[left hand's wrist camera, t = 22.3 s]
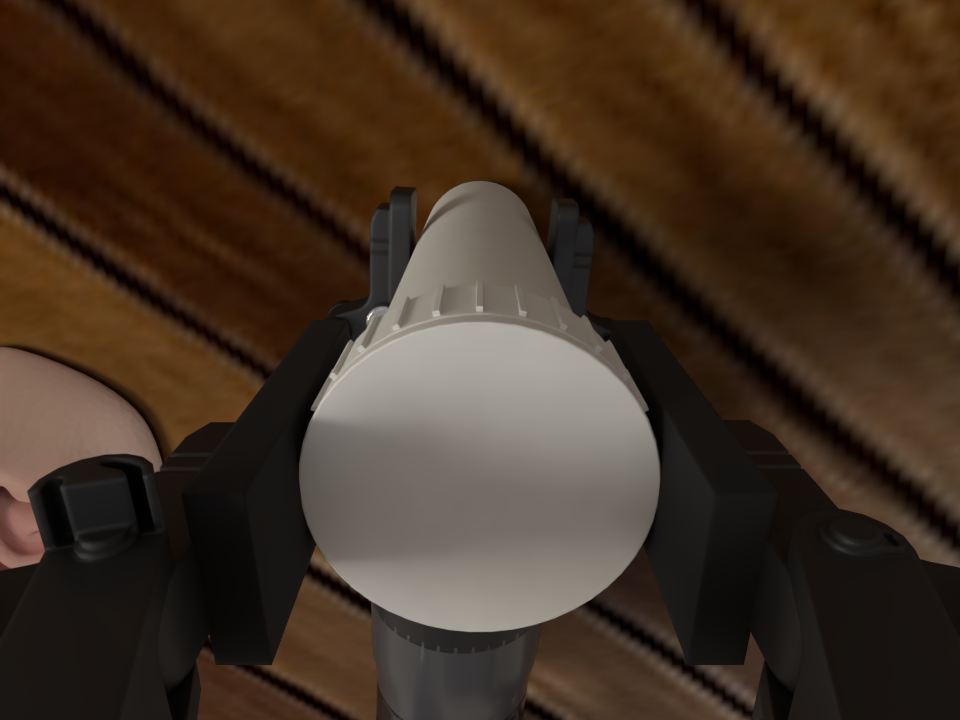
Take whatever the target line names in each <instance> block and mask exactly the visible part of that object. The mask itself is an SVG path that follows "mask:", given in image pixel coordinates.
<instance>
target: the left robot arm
mask: <svg viewBox="0 0 960 720" xmlns="http://www.w3.org/2000/svg"><path fill="white" fill-rule="evenodd" d="M610 341H611V343H612V344H613V346H614V348H615V350H616V351H617V353H618V355H619V357H620V359H621V361H622V362H623V364H624V366H625V368H626V369H627V370H628V371H629V373H630V375H631V377H632V379H633V381H634V382H635V384H636V386H637V388H638V390H639V392H640V393H641V395H642V397H643V399H644V401H645V403H646V404H647V407H648V409H649V410H648V411H646V412H645V414H646V416H647V417H648V419H649V422H650V425H651V427H652V430H653V433H654V436H655V438H656V442H657V447H658V452H659V457H660V468H661V481H660V489H659V497H658V505H657V509H656V513H655V517H654V521H653V523H652V526H651V528H650V530H649V533H648V535H647V537H646V540H645V541H644V543H643V544H644V547H645V550H646V552H647V555H648V558H649V561H650V563H651V566H652V569H653V571H654V574H655V577H656V580H657V582H658V585H659V588H660V590H661V593H662V596H663V599H664V601H665V604H666V607H667V610H668V612H669V615H670V618H671V620H672V623H673V626H674V629H675V631H676V634H677V637H678V639H679V642H680V645H681V648H682V650H683V653H684V656H685V659H686V661H687V664H688V665H744V661H745V656H746V651H747V646H748V641H749V636H750V631H751V633H752V635H753V637H754V639H755V641H756V643H757V645H758V647H759V648H760V650H761V652H762V654H763V656H764V658H765V660H764V664H763V669H762V673H761V678H760V682H759V687H758V692H757V696H756V701H755V705H754V710H753V715H752V720H762V718H763V720H960V568H959V567H954V566H949V565H943V564H938V563H933V562H929V561H925V560H921V559H919V557H918V555H917V553H916V551H915V549H914V548H913V547H912V546H911V544H910V543H909V542H908V541H907V540H906V538H905V537H904V536H903V535H901V534H900V533H898V532H897V531H895V530H894V529H892V528H891V527H889V526H888V525H886V524H884V523H882V522H880V521H877V520H875V519H873V518H870V517H868V516H866V515H863V514H859V513H855V512H851V511H847V510H843V509H838V508H837V506H836V505H835V504H834V503H833V502H832V501H831V500H830V498H829V497H828V496H827V495H826V494H825V493H824V492H823V490H822V489H821V488H820V487H819V486H818V485H817V484H816V482H815V481H814V480H813V479H812V478H811V477H810V476H809V474H808V473H807V472H806V471H805V470H804V469H801V465H800V464H799V463H798V462H797V461H796V460H795V458H794V457H793V456H792V455H789V454H788V450H787V449H786V448H785V447H784V446H783V445H782V444H781V442H780V441H779V440H778V439H777V438H776V437H775V436H774V435H773V434H772V433H770V432H768V431H767V430H765V429H763V428H761V427H760V426H758V425H756V424H755V423H753V422H751V421H749V420H722V419H721V418H720V416H719V415H718V414H717V412H716V411H715V410H714V408H713V407H712V406H711V404H710V403H709V402H708V400H707V399H706V398H705V396H704V395H703V394H702V392H701V391H700V390H699V388H698V387H697V386H696V384H695V383H694V382H693V381H692V379H691V378H690V377H689V375H688V374H687V373H686V371H685V370H684V369H683V367H682V366H681V365H680V363H679V362H678V361H677V359H676V358H675V357H674V355H673V354H672V353H671V351H670V350H669V349H668V347H667V346H666V345H665V344H664V342H663V341H662V340H661V338H660V337H659V336H658V334H657V333H656V332H655V330H654V329H653V328H652V326H651V325H650V324H649V322H648V321H612V323H611V336H610ZM348 342H349V329H348V321H312V322H311V323H310V324H309V326H308V327H307V328H306V330H305V331H304V332H303V334H302V335H301V336H300V338H299V339H298V340H297V342H296V343H295V344H294V346H293V347H292V348H291V350H290V351H289V352H288V354H287V355H286V356H285V357H284V359H283V360H282V361H281V363H280V364H279V365H278V367H277V368H276V369H275V371H274V372H273V373H272V375H271V376H270V377H269V379H268V380H267V381H266V383H265V384H264V385H263V387H262V388H261V389H260V391H259V392H258V393H257V394H256V396H255V397H254V398H253V400H252V401H251V402H250V404H249V405H248V406H247V408H246V409H245V410H244V412H243V413H242V414H241V416H240V417H239V418H238V420H237V421H236V422H211V423H209V424H207V425H206V426H204V427H202V428H201V429H199V430H197V431H195V432H194V433H192V434H190V435H189V436H187V437H186V438H185V439H184V440H183V441H182V442H181V444H180V445H179V446H178V447H177V448H176V449H175V450H174V452H173V453H172V457H168V459H167V460H166V461H165V462H164V463H163V464H162V465H161V467H160V468H159V469H160V470H159V471H156V472H154V467H153V463H151V462H150V461H148V460H147V459H146V458H144V457H142V456H137V455H131V454H106V455H100V456H96V457H91V458H86V459H81V460H79V461H76V462H73V463H70V464H68V465H65V466H62V467H59V468H57V469H56V470H54V471H52V472H50V473H49V474H47V475H45V476H43V477H42V478H40V479H39V480H38V481H37V482H36V483H35V484H34V485H33V486H32V487H31V488H30V489H29V490H28V491H27V494H28V497H29V500H30V503H31V507H32V510H33V513H34V516H35V520H36V523H37V526H38V529H39V533H40V536H41V539H42V542H43V546H44V549H45V552H44V554H43V556H42V558H41V560H40V562H39V563H35V564H31V565H26V566H21V567H16V568H11V569H6V570H1V571H0V720H197V716H198V708H199V700H200V692H201V686H200V679H199V673H198V669H197V664H196V659H197V657H198V655H199V653H200V651H201V649H202V647H203V645H204V643H205V641H206V639H207V637H208V635H209V634H210V639H211V643H212V648H213V653H214V658H215V663H216V665H272V663H273V660H274V657H275V655H276V652H277V649H278V647H279V644H280V641H281V638H282V636H283V633H284V630H285V627H286V625H287V622H288V619H289V617H290V614H291V611H292V608H293V606H294V603H295V600H296V598H297V595H298V592H299V589H300V587H301V584H302V581H303V579H304V576H305V573H306V570H307V568H308V565H309V562H310V559H311V557H312V554H313V551H314V549H315V546H316V543H315V540H314V538H313V536H312V534H311V532H310V529H309V527H308V525H307V522H306V519H305V515H304V512H303V508H302V501H301V493H300V485H299V460H300V454H301V449H302V443H303V440H304V437H305V434H306V431H307V428H308V425H309V422H310V420H311V418H312V417H313V415H314V413H315V412H314V411H312V410H311V407H312V405H313V403H314V401H315V400H316V398H317V396H318V394H319V392H320V390H321V389H322V387H323V385H324V383H325V381H326V380H327V378H328V376H329V374H330V372H331V370H332V369H334V367H335V365H336V363H337V362H338V360H339V358H340V356H341V354H342V352H343V351H344V349H345V347H346V345H347V343H348Z"/></svg>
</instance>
